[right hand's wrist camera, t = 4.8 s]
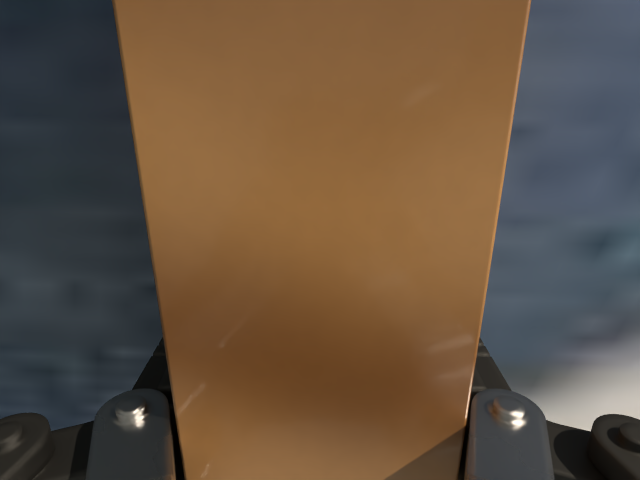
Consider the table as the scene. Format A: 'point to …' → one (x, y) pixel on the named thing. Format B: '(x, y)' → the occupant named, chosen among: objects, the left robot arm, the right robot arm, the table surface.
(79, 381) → the table surface
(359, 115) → the post
